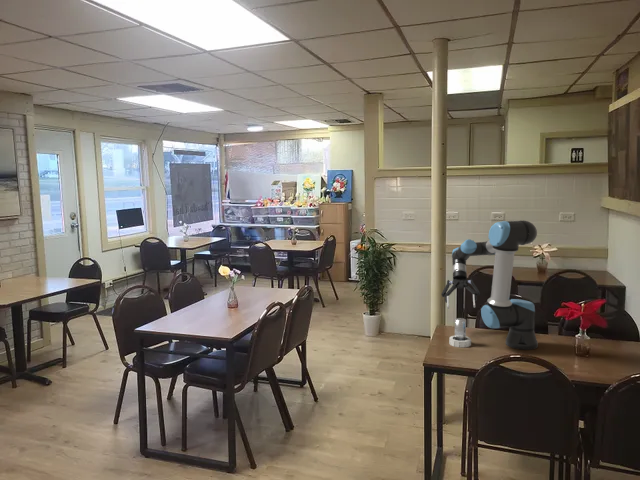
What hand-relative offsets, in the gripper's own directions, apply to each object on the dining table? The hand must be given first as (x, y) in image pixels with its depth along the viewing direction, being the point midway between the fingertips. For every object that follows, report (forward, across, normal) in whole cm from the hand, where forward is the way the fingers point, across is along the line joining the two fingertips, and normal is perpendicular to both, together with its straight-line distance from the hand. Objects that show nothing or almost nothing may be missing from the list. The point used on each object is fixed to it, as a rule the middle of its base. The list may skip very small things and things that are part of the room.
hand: (461, 307), depth 259 cm
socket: (+20, +2, -2) cm, 21 cm away
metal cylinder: (+20, +1, -1) cm, 20 cm away
